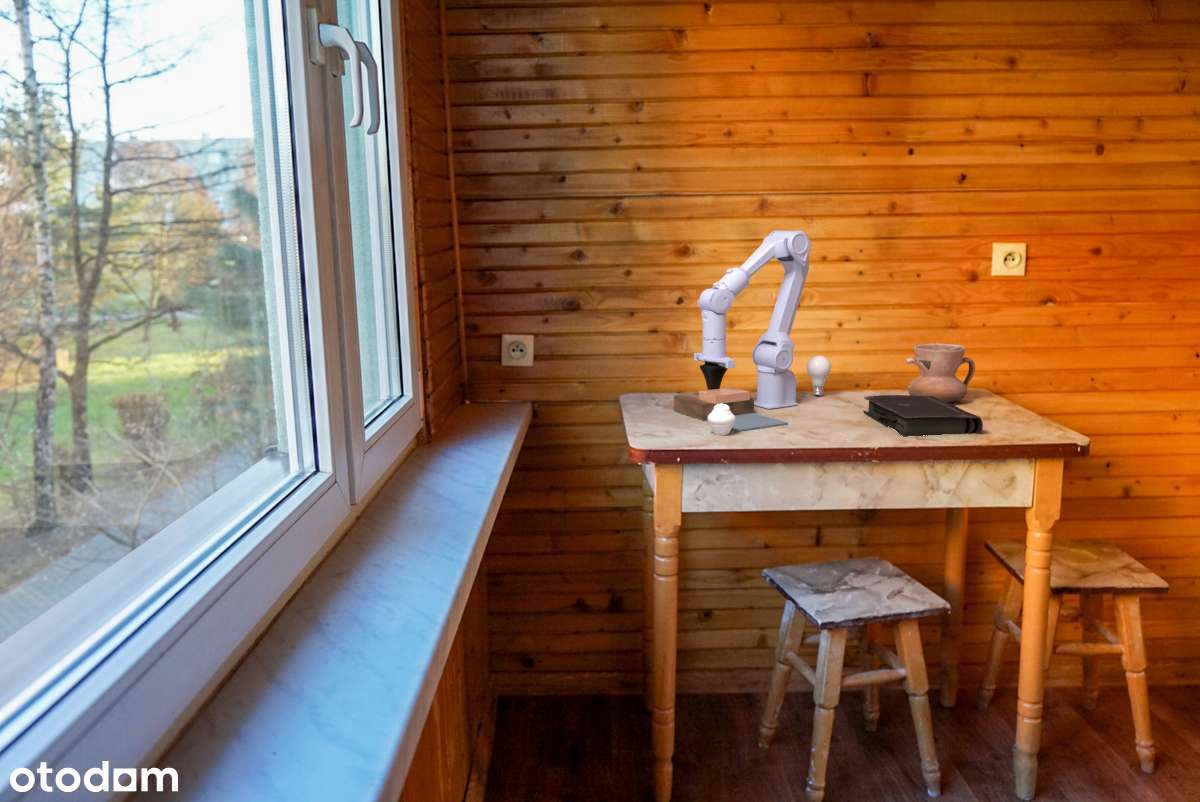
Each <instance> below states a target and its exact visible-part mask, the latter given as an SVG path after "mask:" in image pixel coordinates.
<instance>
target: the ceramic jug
mask: <svg viewBox="0 0 1200 802" xmlns="http://www.w3.org/2000/svg"><path fill="white" fill-rule="evenodd" d="M913 348H914V350H913V352H914V356H915V357H908V358H906V359H905V364H906V365H909V364H914V365H915V366H917V368H918V369H919V371H920V375H918V376H916V378H913V379H912V380H910V381H909V383H908V384H907V388H906V389H907V391H908V395H911V396H929V395H932V396H934V397H936V398H938V399H940V400H942V401H944V402H946V403H949V404H950V403H954V402H957V401H959V400H962V399H963V398H964V397H966V395H967V394H968V385H969V383H970V382H971V380H972V379H973V377H974V375H975V370H976V363H975V361H974V359H972V358H971V357H965V353H966V347H965V346H964V345H958V344H953V343H952V344H949V343H923V344H917V345H916V344H915V345H914V347H913ZM966 363H967V364H968V371H967V375H966V377H965V379H964V380H963V381H962V380H960V379H959V378H958V377H957V376H956V373H957V371H958V369H959V368H960V366H962V365H963V364H966Z"/></svg>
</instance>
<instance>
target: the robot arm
mask: <svg viewBox="0 0 1200 802" xmlns="http://www.w3.org/2000/svg"><path fill="white" fill-rule="evenodd" d="M811 248H812V242H811V240H810V238H809V236H808V235H807V234H806V232H805V231H804V230H781V229H780V230H779V229H776V230H772V231H771V232H770V233H769V234H768V236H766V237H765V238H763V241H762V243H761V245H760V246H759V247H758V248H757V249H756V250H755V251H754V252H753V253H752V254H751V255H750V256H749V257H748V259H746V261H745V262H744V263H743V264H742V265H741V266H739V267H737V266H736V267H735V266H734V267H731V268H728V269H727V270H726V271H725V274H724V275H723V276H722V277H721V278H720V279H719V280H718V281H717V282H713V284H712V287H711V288H706V289H704V290H703V291H702V292H701V293H700V296H699V299H698V300H697V305H698V308H699V310H700V311H701V317H702V318H701V319H702V323H701V324H702V325H701V326H702V327H701V328H702V329H701V331H702V333H701V340H702V341H701V342H702V343H701V344H702V345H701V348H702V350H701V352H694V354H693V361H696V362H703V364H700V365H699V369H700V371H701V372H702V374H703V375H702V376H704V380H705V384H706V388H707V390H713V389H721V384H722V382H723V378H724V376H725V374H726V372H727V371H728V369H734V368H735V366H736V365H735V364H736V363H735V362H736V360H735V359H734V358H733V359H732V358H730V357H729V356H727V355H726V353H727V351H726V350H727V312H728V311H730V309H731V307H732V304H733V301H734V300H735V299H736V298H737V297H738V295H740V294H742V292H743V291H744V290H745V289H746V288H747V287H748V286H749V285H750V278H751V277H752V276H753V275H755V274H756V273H757V272H758V271H759V270H760V269H762V268H763V267H764V266H766V264H768V263H769V262H770V261H771V260H773V259H776V260H777V261H778V262H779V263H780V264H781V266H782V267H783V269H784V275H783V278H782V281H781V284H780V285H781V286H780V288H779V292H778V295H777V298H776V302H775V305H774V308H773V311H772V315H771V319H770V322H769V326H768V329H767V331H765V332H764V333H763V334H762V335H761V336H760V337H759V338H758V342H757V343H756V345H755V346H754V348H753V350H752V352H751V358H752V362H753V364H754V365H756V366H755V367H756V370H757V378H756V379H757V381H756V382H757V383H756V384H757V385H756V387H757V388H756V389H757V390H756V399H757V400H754V406H757V407H760V408H764V409H767V410H768V409H769V410H770V409H771V410H772V409H777V408H786V407H791V406H792V407H793V406H794V407H795V406H798V405H799V403H798V402H796V399H797V398H796V397H797V396H796V395H797V378H796V376H795V373H794V372H793V371H792V370H791V369H789V368H791V366H792V365H793V361H794V355H793V354H794V353H793V351H794V348H795V344H794V342H793V341H792V339H791V336H790V333H791V331H792V328H793V324H794V321H795V318H796V314H797V311H798V307H799V303H800V301H801V297H802V294H803V289H804V287H805V283H806V280H807V278H808V277H807V276H808V275H809V274H808V273H809V270H810V261H809V259H810V258H809V257H810V255H809V254H810V252H811Z"/></svg>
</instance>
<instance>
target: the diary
mask: <svg viewBox="0 0 1200 802" xmlns="http://www.w3.org/2000/svg"><path fill="white" fill-rule="evenodd" d="M863 399H864V400H867V401H868V411H867V410H862V412H863V413H864V415H866V416H867V417H869V418H870V417H871V418H870V419H872V420H874V421H875V420H876V421H875V422H877V423H879V424H881V425H882V426H884V427H886V428H887V427H888V426H889V428H890V429H891V428H893V429H895V430H896V431H897V432H898V433H899V434H900V435H899V434H898V433H897V434H898V435H899V436H901V435H902V436H903V437H902V436H901V437H902V438H909V437H908V436H917V437H929V436H928V435H942V434H948V435H964V434H965V433H966V434H967V435H971V433H975V434H976V435H978V434H980V435H981V433H982V431H983V427H984V424H983V420H982V417H981V416H979V415H976V414H973V413H970V412H968V411H965V410H963V409H962V408H960V407H958V406H956V405H954V404H952V403H950V402H949V403H946V402H944V401H942V400H940V399H938V398H936V397H934V396H932V395H929V396H911V395H910V394H907V395H906V394H882V395H881V394H880V395H867V396H864V397H863ZM893 429H892V430H893ZM923 435H925V436H923ZM926 435H927V436H926ZM942 436H943V435H942Z"/></svg>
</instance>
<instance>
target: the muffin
mask: <svg viewBox="0 0 1200 802" xmlns="http://www.w3.org/2000/svg"><path fill="white" fill-rule="evenodd" d="M708 421H709V422H708ZM708 421H707V422H708V424H709V427H710V428H711V430H712V432H713V434H714V435H716V434H717V435H716V436H728V435H729V433H730V432H731V430H732V429H731V428H732V427H733V425H734V421H735V416H734V415H733V414H732V413H731V411H730V408H729V406H728V405H726V404H722V403H721V404H717V405H715V406H714V410H713V411H712V413H710V414H709V415H708ZM727 434H728V435H727Z"/></svg>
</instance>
